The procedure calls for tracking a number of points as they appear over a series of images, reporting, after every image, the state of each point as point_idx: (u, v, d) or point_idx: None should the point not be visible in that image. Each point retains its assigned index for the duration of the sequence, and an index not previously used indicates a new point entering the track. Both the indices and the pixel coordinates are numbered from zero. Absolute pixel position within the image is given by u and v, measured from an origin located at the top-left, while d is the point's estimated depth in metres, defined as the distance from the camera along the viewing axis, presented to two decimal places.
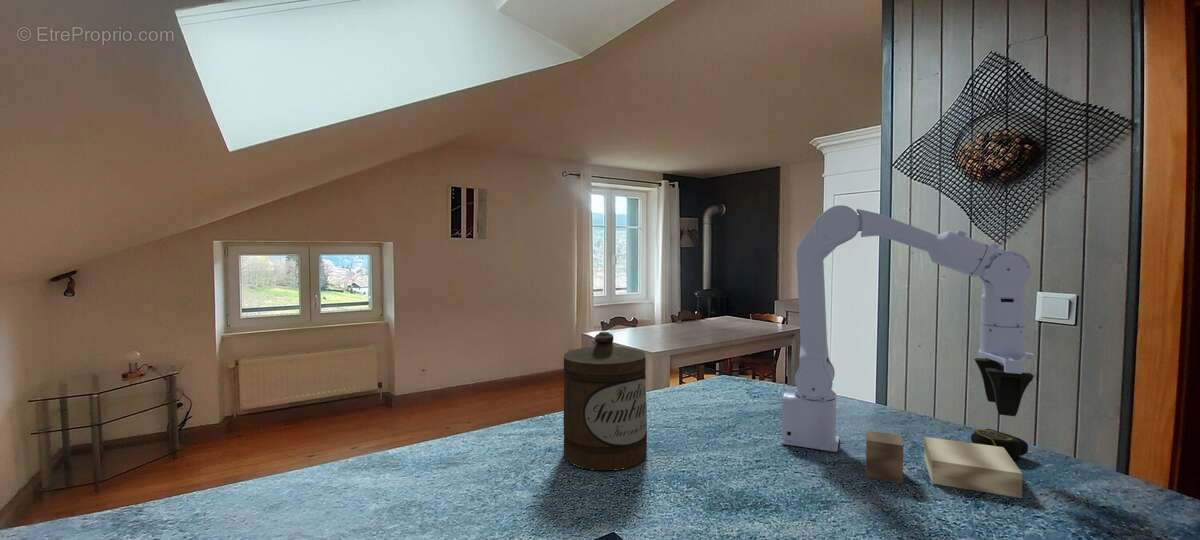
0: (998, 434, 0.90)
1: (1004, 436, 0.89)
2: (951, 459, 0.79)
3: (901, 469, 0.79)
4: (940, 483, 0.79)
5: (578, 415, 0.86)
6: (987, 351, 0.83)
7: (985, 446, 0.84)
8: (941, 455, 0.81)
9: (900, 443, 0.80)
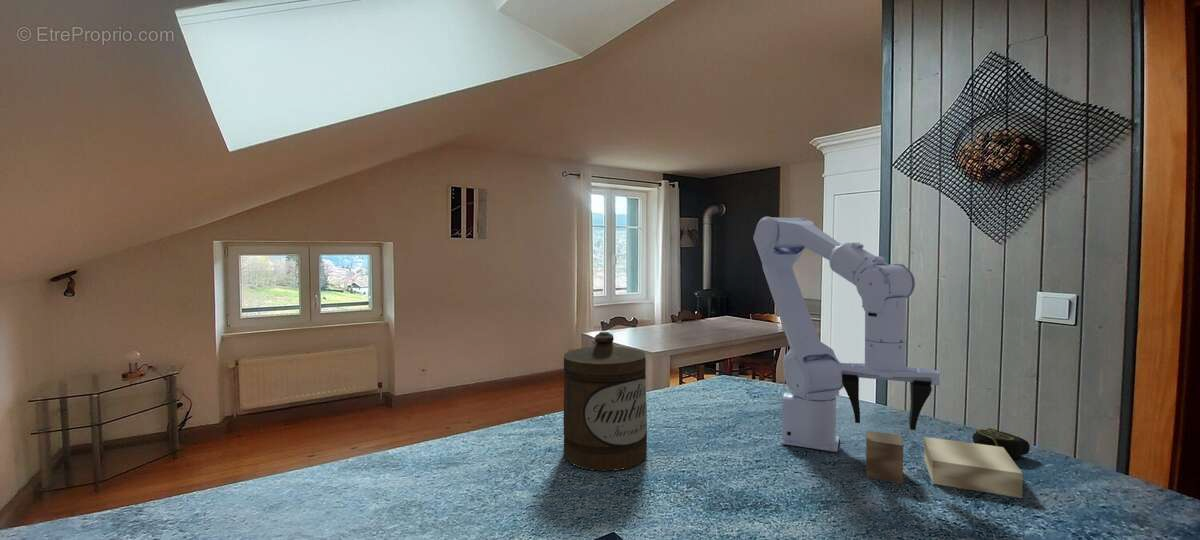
0: (1000, 434, 0.91)
1: (1006, 436, 0.90)
2: (951, 459, 0.79)
3: (901, 469, 0.79)
4: (940, 483, 0.79)
5: (578, 415, 0.86)
6: None
7: (985, 446, 0.84)
8: (941, 455, 0.81)
9: (900, 443, 0.80)
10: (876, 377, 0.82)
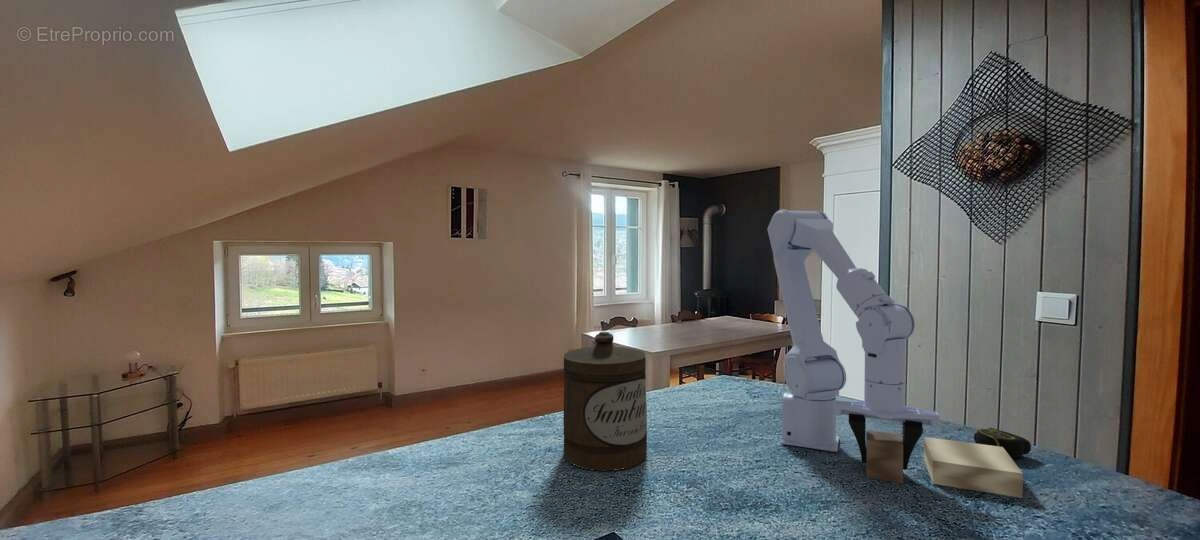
0: (1001, 433, 0.91)
1: (1007, 435, 0.90)
2: (951, 460, 0.79)
3: (901, 469, 0.79)
4: (941, 483, 0.79)
5: (578, 415, 0.86)
6: None
7: (984, 446, 0.84)
8: (942, 455, 0.81)
9: (900, 443, 0.80)
10: (876, 417, 0.83)
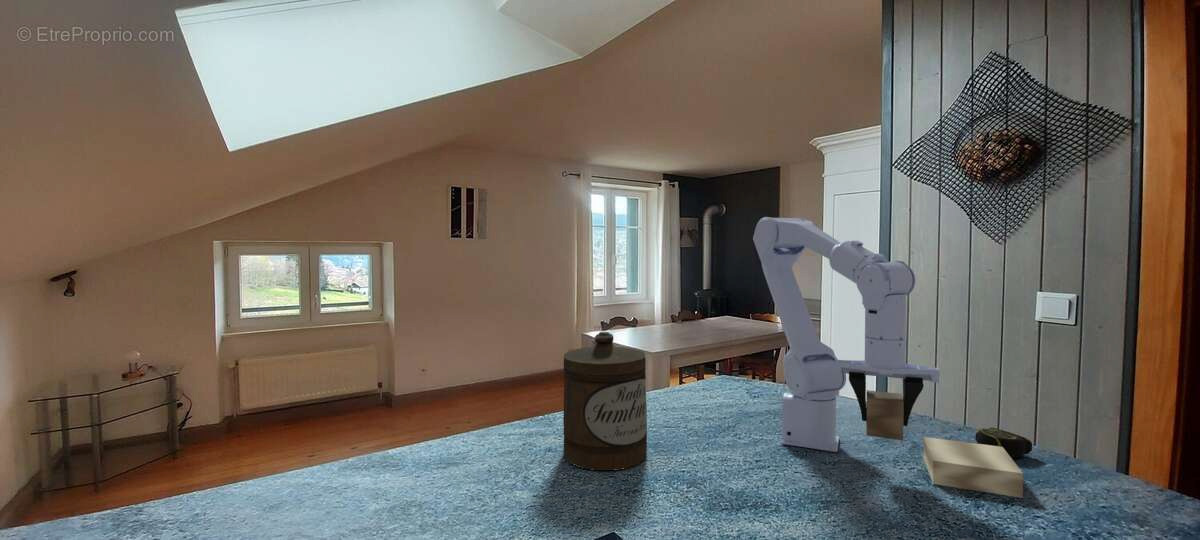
0: (1002, 433, 0.91)
1: (1008, 435, 0.90)
2: (952, 460, 0.79)
3: (901, 426, 0.79)
4: (941, 483, 0.79)
5: (578, 415, 0.86)
6: None
7: (984, 446, 0.85)
8: (942, 455, 0.81)
9: (901, 400, 0.80)
10: (876, 374, 0.82)
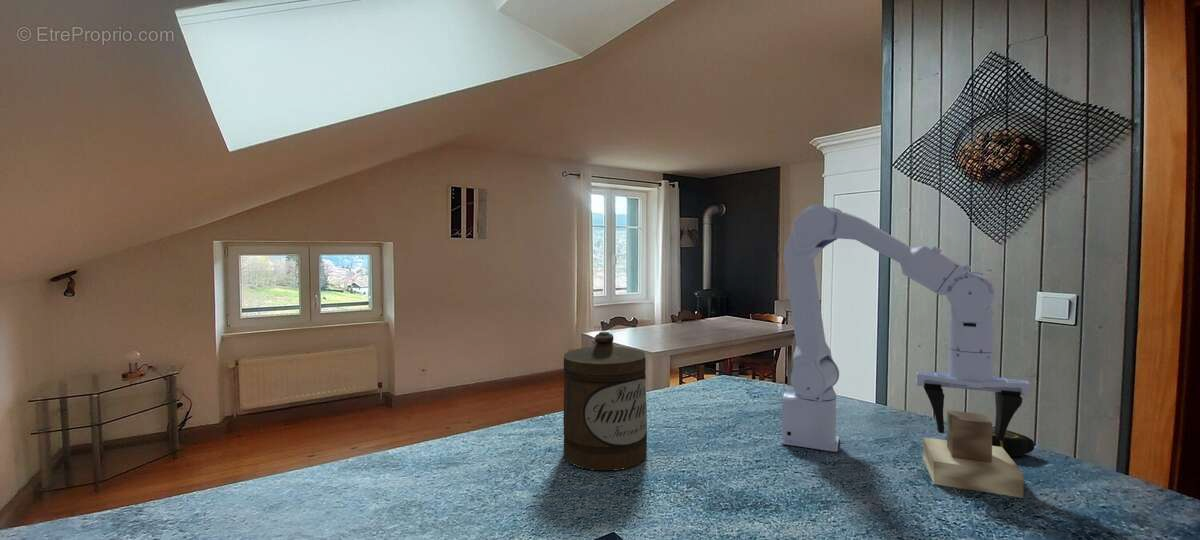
0: None
1: (1010, 434, 0.90)
2: (952, 460, 0.79)
3: (990, 447, 0.78)
4: (942, 484, 0.79)
5: (578, 415, 0.86)
6: None
7: None
8: (942, 456, 0.81)
9: (988, 421, 0.79)
10: (961, 387, 0.81)
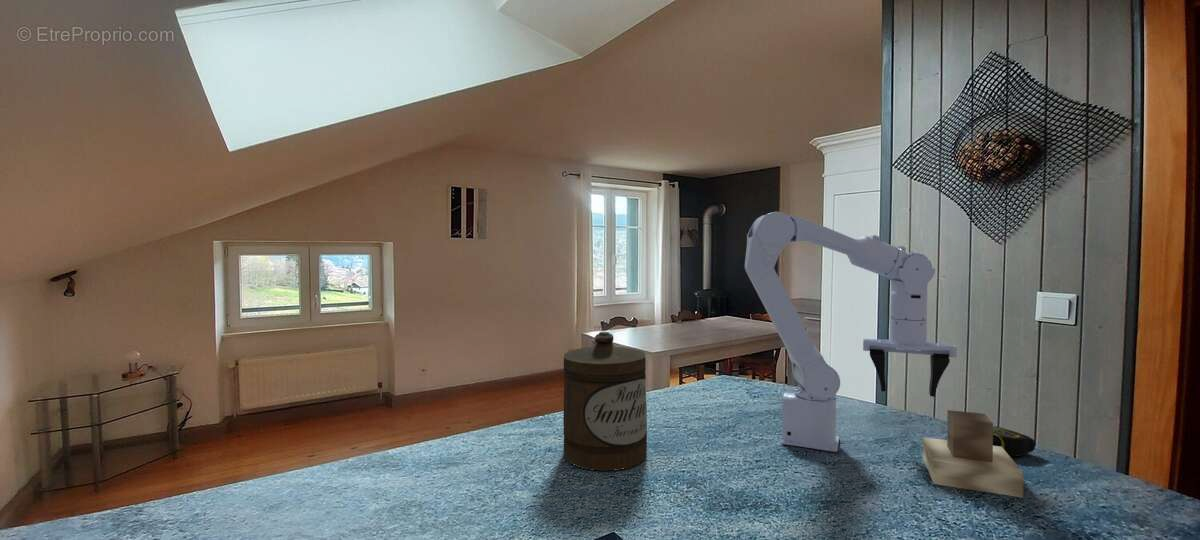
0: (1006, 431, 0.92)
1: (1012, 433, 0.91)
2: (952, 460, 0.79)
3: (991, 447, 0.78)
4: (942, 484, 0.79)
5: (578, 415, 0.86)
6: None
7: None
8: (942, 455, 0.81)
9: (989, 421, 0.79)
10: (900, 351, 0.94)
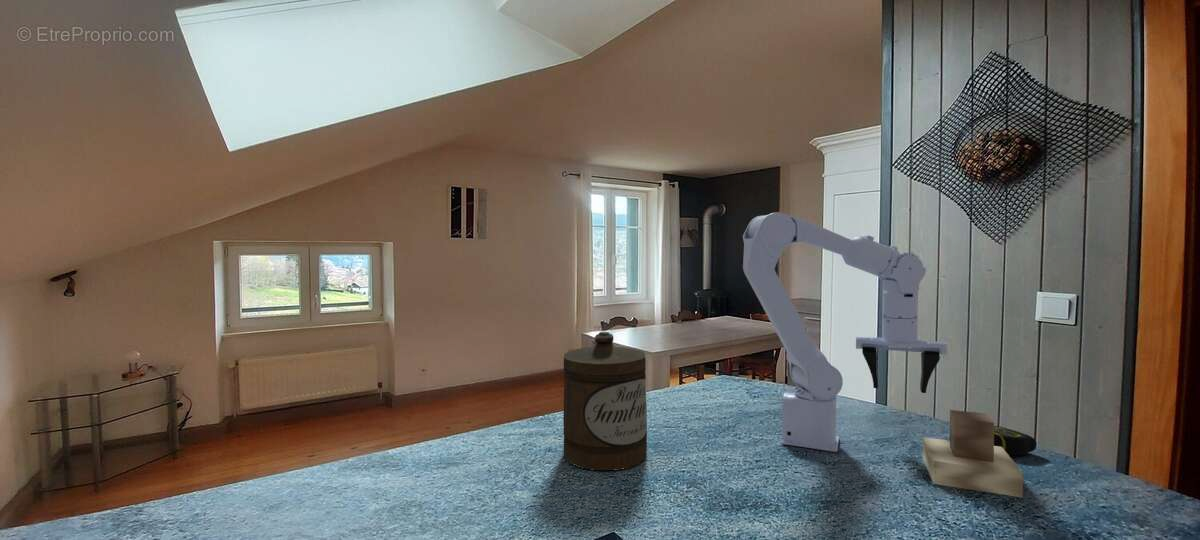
0: (1007, 431, 0.92)
1: (1013, 433, 0.91)
2: (952, 460, 0.79)
3: (992, 447, 0.78)
4: (941, 484, 0.79)
5: (578, 415, 0.86)
6: None
7: None
8: (942, 455, 0.81)
9: (990, 421, 0.79)
10: (892, 348, 0.96)
